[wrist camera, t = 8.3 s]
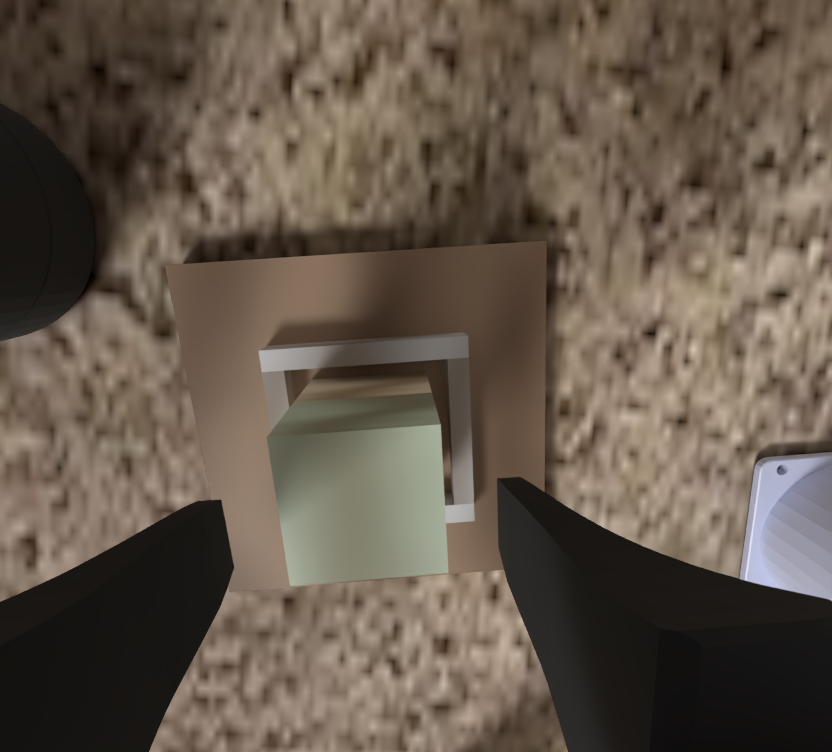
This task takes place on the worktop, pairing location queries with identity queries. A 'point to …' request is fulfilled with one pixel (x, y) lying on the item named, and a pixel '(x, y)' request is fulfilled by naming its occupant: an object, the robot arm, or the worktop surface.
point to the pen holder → (39, 230)
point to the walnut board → (367, 374)
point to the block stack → (361, 480)
